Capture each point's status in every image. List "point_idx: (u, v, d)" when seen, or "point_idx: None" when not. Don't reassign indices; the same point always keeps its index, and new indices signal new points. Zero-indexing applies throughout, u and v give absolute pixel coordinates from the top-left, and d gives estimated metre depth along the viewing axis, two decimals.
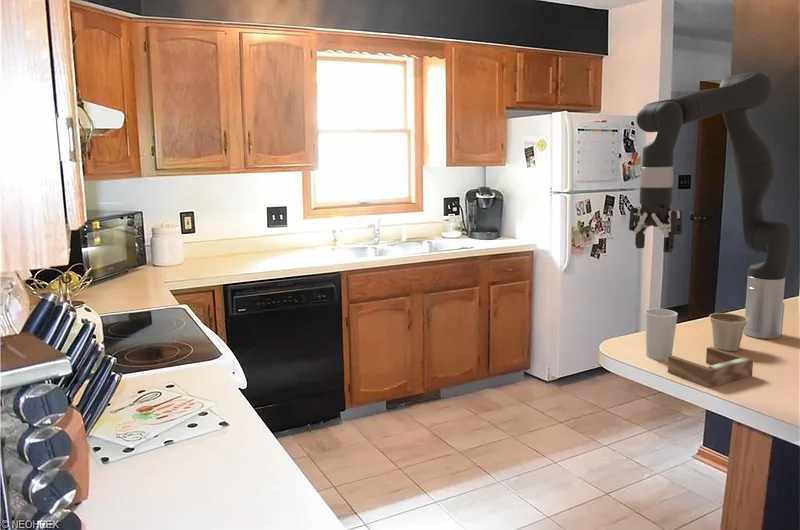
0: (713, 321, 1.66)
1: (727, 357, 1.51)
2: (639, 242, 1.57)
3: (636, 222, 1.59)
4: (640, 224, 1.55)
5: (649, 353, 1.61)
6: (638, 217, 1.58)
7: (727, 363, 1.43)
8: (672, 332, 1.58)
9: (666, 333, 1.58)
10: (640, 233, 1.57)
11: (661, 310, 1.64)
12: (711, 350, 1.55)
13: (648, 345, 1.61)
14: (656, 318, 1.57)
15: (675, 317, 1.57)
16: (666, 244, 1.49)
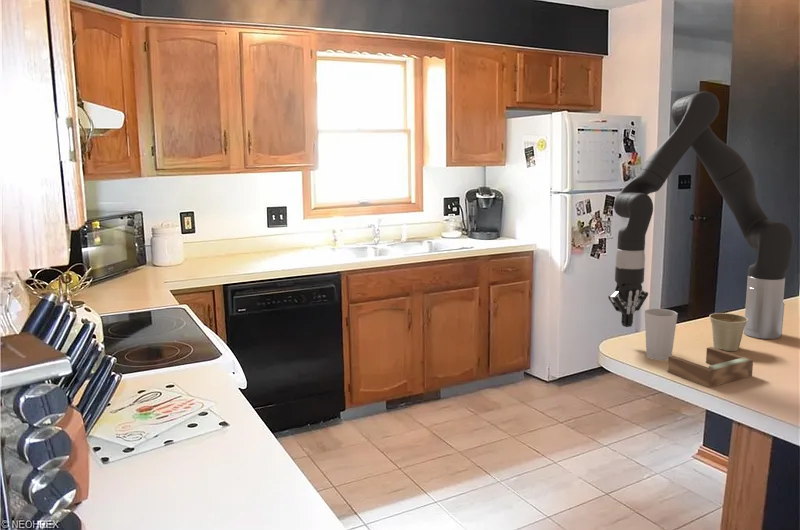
0: (713, 321, 1.66)
1: (727, 357, 1.51)
2: None
3: (616, 306, 1.70)
4: (630, 303, 1.68)
5: (649, 353, 1.61)
6: None
7: (727, 363, 1.43)
8: (672, 332, 1.58)
9: (666, 333, 1.58)
10: None
11: (661, 310, 1.64)
12: (711, 350, 1.55)
13: (648, 345, 1.61)
14: (656, 318, 1.57)
15: (675, 317, 1.57)
16: None
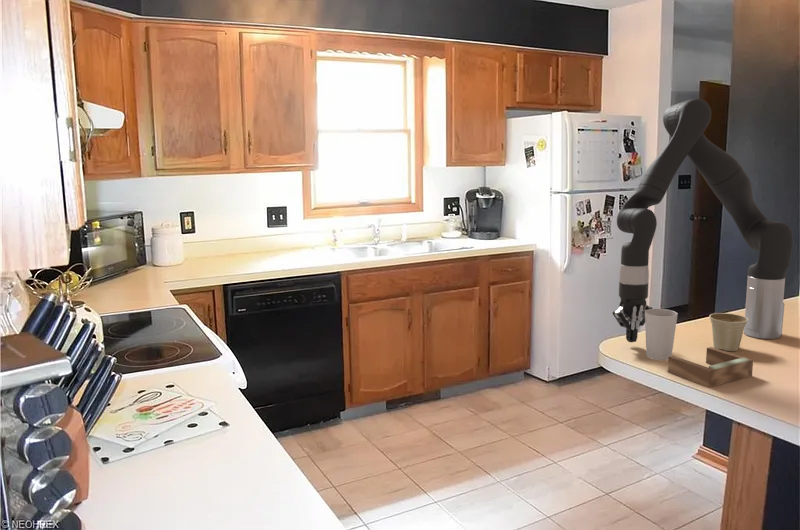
0: (713, 321, 1.66)
1: (727, 357, 1.51)
2: None
3: (620, 321, 1.69)
4: (634, 318, 1.68)
5: (649, 353, 1.61)
6: None
7: (727, 363, 1.43)
8: (672, 332, 1.58)
9: (666, 333, 1.58)
10: None
11: (661, 310, 1.64)
12: (711, 350, 1.55)
13: (648, 345, 1.61)
14: (656, 318, 1.57)
15: (675, 317, 1.57)
16: None
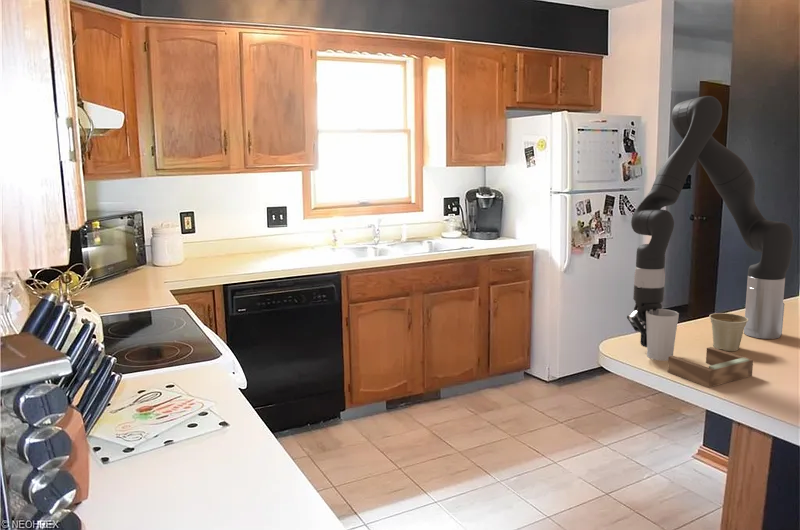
0: (713, 321, 1.66)
1: (727, 357, 1.51)
2: None
3: (635, 325, 1.64)
4: None
5: (650, 354, 1.61)
6: None
7: (727, 363, 1.43)
8: (673, 332, 1.58)
9: (667, 333, 1.57)
10: None
11: (662, 311, 1.63)
12: (711, 350, 1.55)
13: (649, 345, 1.61)
14: (657, 318, 1.57)
15: (676, 317, 1.57)
16: None
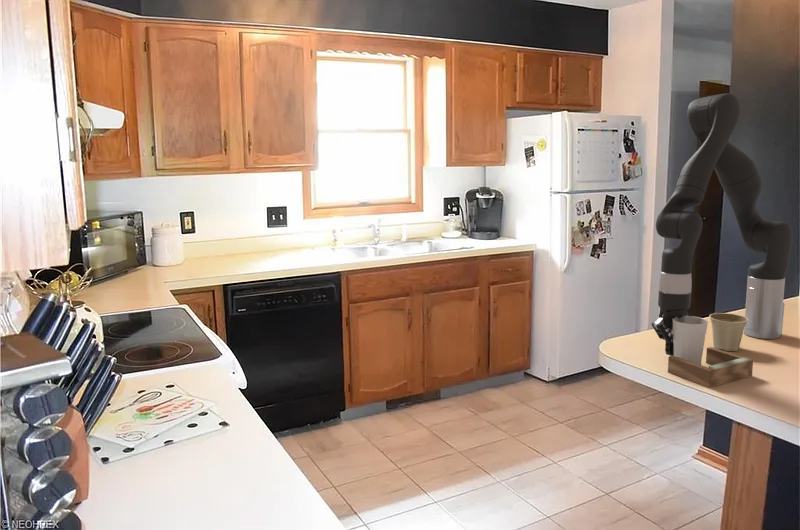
0: (713, 321, 1.66)
1: (727, 357, 1.51)
2: None
3: None
4: None
5: None
6: None
7: (727, 363, 1.43)
8: (703, 340, 1.51)
9: (697, 341, 1.50)
10: None
11: (688, 318, 1.56)
12: (711, 350, 1.55)
13: (677, 355, 1.53)
14: (687, 326, 1.49)
15: (706, 325, 1.50)
16: None
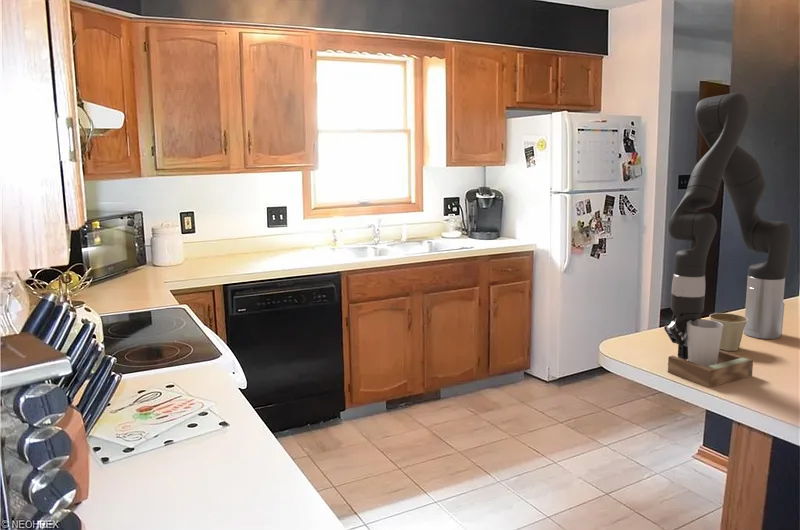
0: None
1: (727, 357, 1.51)
2: None
3: None
4: None
5: None
6: None
7: (727, 363, 1.43)
8: (719, 344, 1.48)
9: (714, 345, 1.47)
10: None
11: (701, 321, 1.53)
12: None
13: (693, 359, 1.49)
14: (704, 330, 1.46)
15: (722, 328, 1.47)
16: None
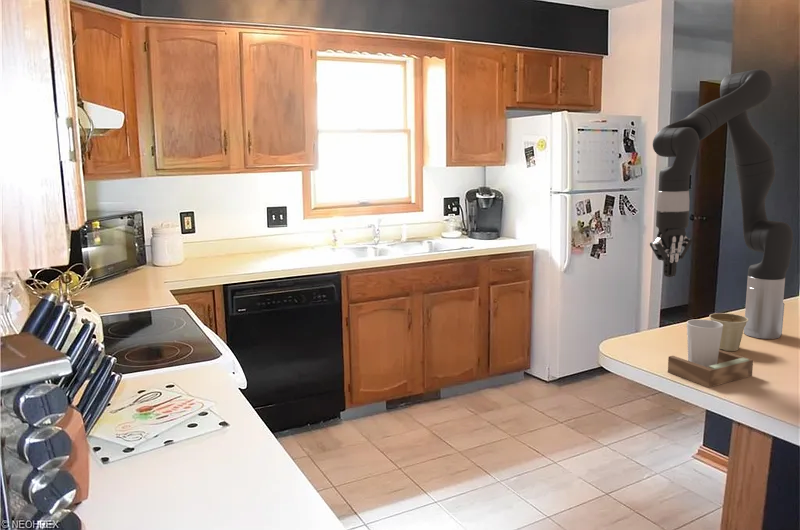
0: None
1: (727, 357, 1.51)
2: None
3: (658, 254, 1.55)
4: (674, 250, 1.54)
5: None
6: None
7: (727, 363, 1.43)
8: (718, 344, 1.48)
9: (714, 345, 1.47)
10: None
11: (700, 321, 1.53)
12: None
13: (693, 359, 1.49)
14: (704, 330, 1.46)
15: (722, 328, 1.47)
16: None
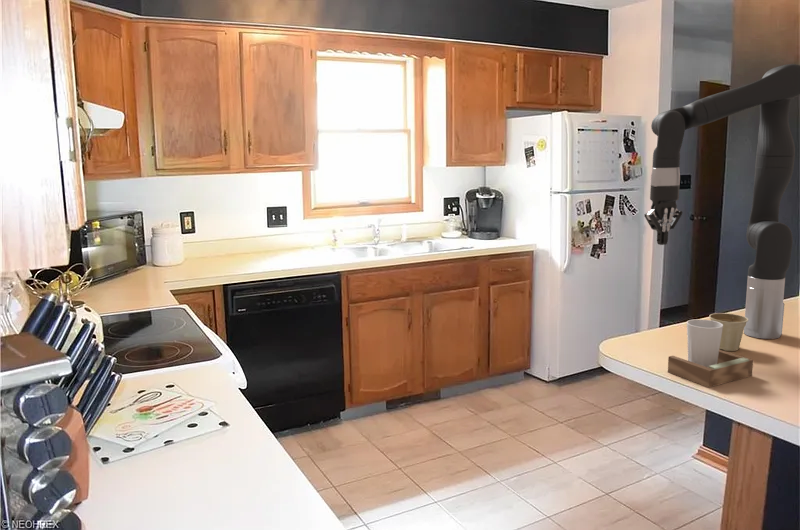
0: None
1: (727, 357, 1.51)
2: None
3: (652, 224, 1.74)
4: (666, 220, 1.73)
5: None
6: None
7: (727, 363, 1.43)
8: (718, 344, 1.48)
9: (714, 345, 1.47)
10: None
11: (700, 321, 1.53)
12: None
13: (693, 359, 1.49)
14: (704, 330, 1.46)
15: (722, 328, 1.47)
16: None
